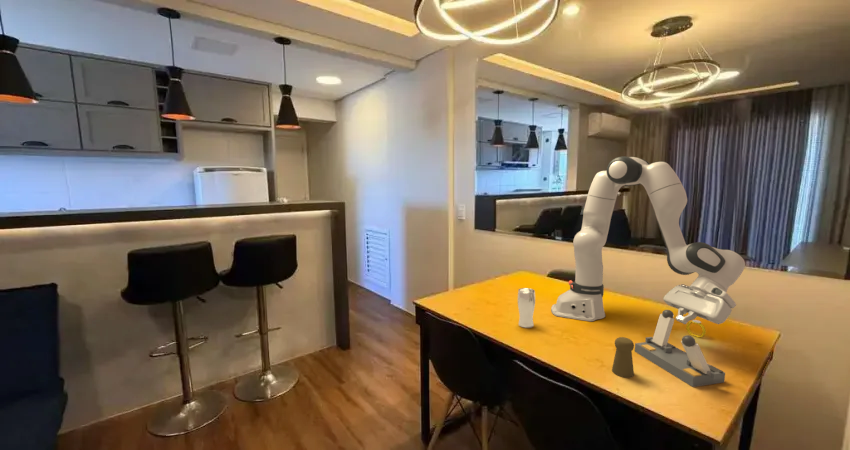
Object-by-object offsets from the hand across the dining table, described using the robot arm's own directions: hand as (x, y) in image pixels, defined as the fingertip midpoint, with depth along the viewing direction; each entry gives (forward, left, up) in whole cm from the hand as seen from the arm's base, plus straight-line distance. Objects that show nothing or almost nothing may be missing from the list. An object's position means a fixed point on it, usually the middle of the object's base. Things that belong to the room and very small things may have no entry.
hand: (680, 321), depth 120 cm
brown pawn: (-21, -19, -12) cm, 30 cm away
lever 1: (-7, -4, -8) cm, 12 cm away
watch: (+11, +17, -12) cm, 24 cm away
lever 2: (0, -18, -8) cm, 20 cm away
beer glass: (-51, +11, -12) cm, 53 cm away
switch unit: (-4, -10, -11) cm, 15 cm away
